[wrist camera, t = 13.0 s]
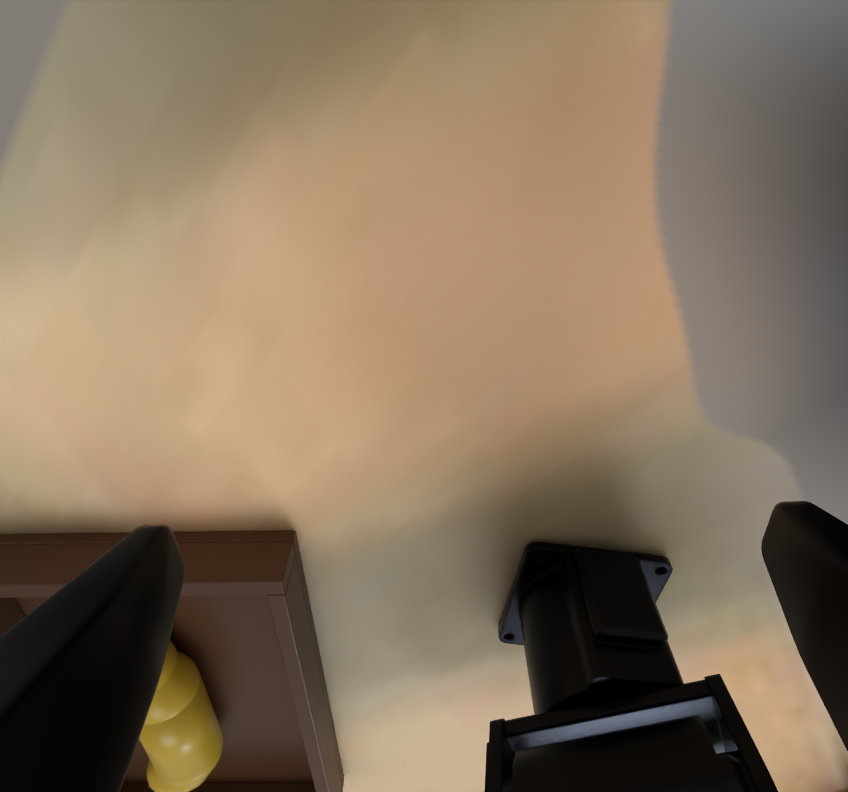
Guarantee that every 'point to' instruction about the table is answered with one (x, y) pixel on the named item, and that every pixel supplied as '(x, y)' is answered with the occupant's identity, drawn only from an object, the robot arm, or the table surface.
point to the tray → (219, 649)
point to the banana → (180, 728)
